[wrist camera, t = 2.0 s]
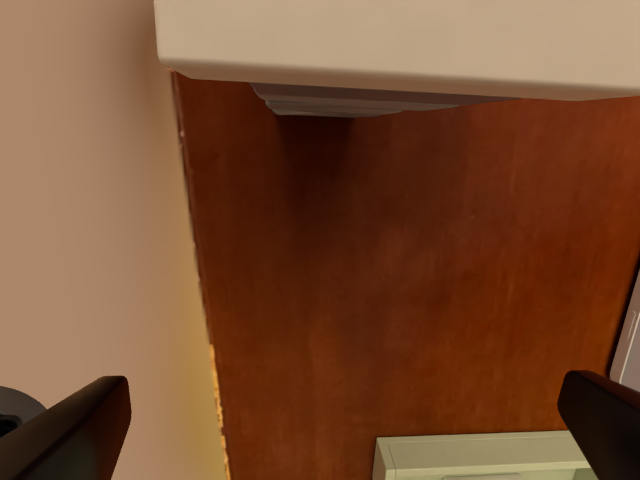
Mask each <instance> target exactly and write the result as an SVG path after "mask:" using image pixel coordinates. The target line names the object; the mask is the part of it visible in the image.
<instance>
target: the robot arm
mask: <svg viewBox="0 0 640 480" xmlns="http://www.w3.org/2000/svg"><path fill="white" fill-rule="evenodd" d="M557 406H558V411H559V414H560V416H561V418H562V419H563V421H564V423H565V424H566V426H567V428H568V429H569V431H570V433H571V435H572V436H573V438H574V440H575V441H576V443H577V445H578V446H579V448H580V450H581V451H582V453H583V455H584V457H585V458H586V460H587V462H588V463H589V465H590V467H591V468H592V470H593V472H594V474H595V475H596V477H597V479H598V480H640V392H639V391H636V390H634V389H632V388H629V387H627V386H625V385H622V384H620V383H618V382H615V381H613V380H611V379H608V378H606V377H603V376H601V375H599V374H596V373H594V372H592V371H588V370H572V371H569V372H567V374H566V375H565V377H564V380H563V384H562V387H561V391H560V394H559V398H558V402H557ZM130 421H131V403H130V394H129V386H128V381H127V378H126V377H124V376H103V377H101V378H98V379H97V380H95V381H94V382H92V383H90V384H89V385H87V386H85V387H84V388H82V389H80V390H79V391H77V392H75V393H74V394H72V395H70V396H69V397H67V398H66V399H64V400H62V401H61V402H59V403H57V404H56V405H54V406H52V407H51V408H49V409H47V410H46V411H44V412H42V413H41V414H39V415H37V416H36V417H34V418H33V419H31V420H29V421H28V422H26V423H24V424H23V425H22V420H21V418H19V417H18V416H16V415H0V480H111V477H112V475H113V472H114V469H115V466H116V463H117V460H118V457H119V454H120V451H121V448H122V446H123V443H124V440H125V437H126V434H127V431H128V428H129V425H130ZM11 423H12V424H11Z"/></svg>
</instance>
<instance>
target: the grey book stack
mask: <svg viewBox="0 0 640 480" xmlns="http://www.w3.org/2000/svg"><path fill="white" fill-rule="evenodd" d="M248 83H249V84H250V85H251V86H252V88H253V90H254V92H255V93H256V94H257V95H258V96H259V97H260V98H261V99H263V100H265V104H266V106H267V107H268V108H269V109H272V110H273V113H275V114H277V115H307V116H327V117H347V118H356V117H376V116H380V115H381V114H391V113H400V112H401V111H402V110H416V111H426V110H436V109H445V108H455V107H458V106H459V105H470V104H479V103H488V102H497V101H505V100H514V99H520V98H518V97H500V96H483V95H466V94H448V93H431V92H413V91H396V90H379V89H361V88H344V87H326V86H309V85H292V84H274V83H257V82H248Z"/></svg>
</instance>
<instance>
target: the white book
mask: <svg viewBox="0 0 640 480" xmlns="http://www.w3.org/2000/svg"><path fill="white" fill-rule="evenodd" d="M154 12H155V25H156V40H157V53H158V58H159V60H160V62H161V64H163V65H165V66H167V67H169V68H171V69H173V70H175V71H177V72H179V73H181V74H183V75H185V76H187V77H189V78H191V79H205V80H222V81H240V82H257V83H274V84H292V85H309V86H326V87H344V88H361V89H379V90H396V91H413V92H431V93H448V94H466V95H483V96H500V97H518V98H535V99H552V100H570V101H582V100H594V99H606V98H617V97H629V96H640V0H154Z"/></svg>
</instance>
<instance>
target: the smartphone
mask: <svg viewBox="0 0 640 480" xmlns="http://www.w3.org/2000/svg"><path fill="white" fill-rule="evenodd" d="M610 379H611V380H613V381H615V382H618V383H620V384H622V385H625V386H627V387H629V388H632V389H634V390H636V391H639V392H640V269H639V273H638V276H637V280H636V283H635V287H634V290H633V294H632V297H631V301H630V304H629V308H628V311H627V315H626V318H625V322H624V325H623V329H622V332H621V336H620V339H619V343H618V346H617V350H616V353H615V357H614V360H613V364H612V367H611V371H610Z"/></svg>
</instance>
